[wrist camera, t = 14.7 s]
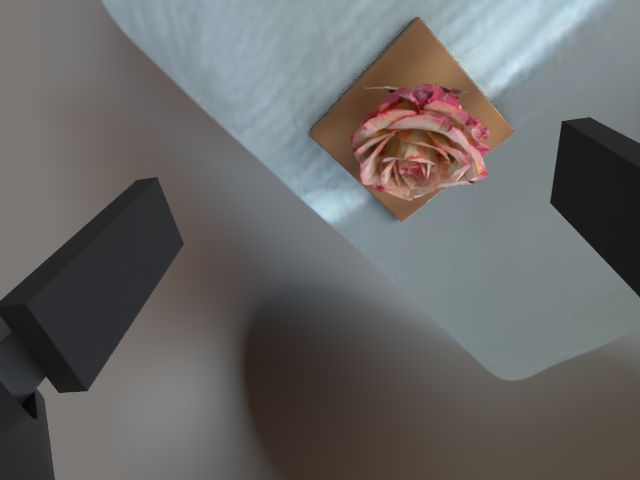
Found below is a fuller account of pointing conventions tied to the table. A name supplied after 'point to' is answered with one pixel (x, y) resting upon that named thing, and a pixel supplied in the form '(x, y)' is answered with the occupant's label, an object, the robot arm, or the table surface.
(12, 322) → the robot arm
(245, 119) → the table surface
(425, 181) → the flower
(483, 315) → the table surface
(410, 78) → the brown wooden square board
